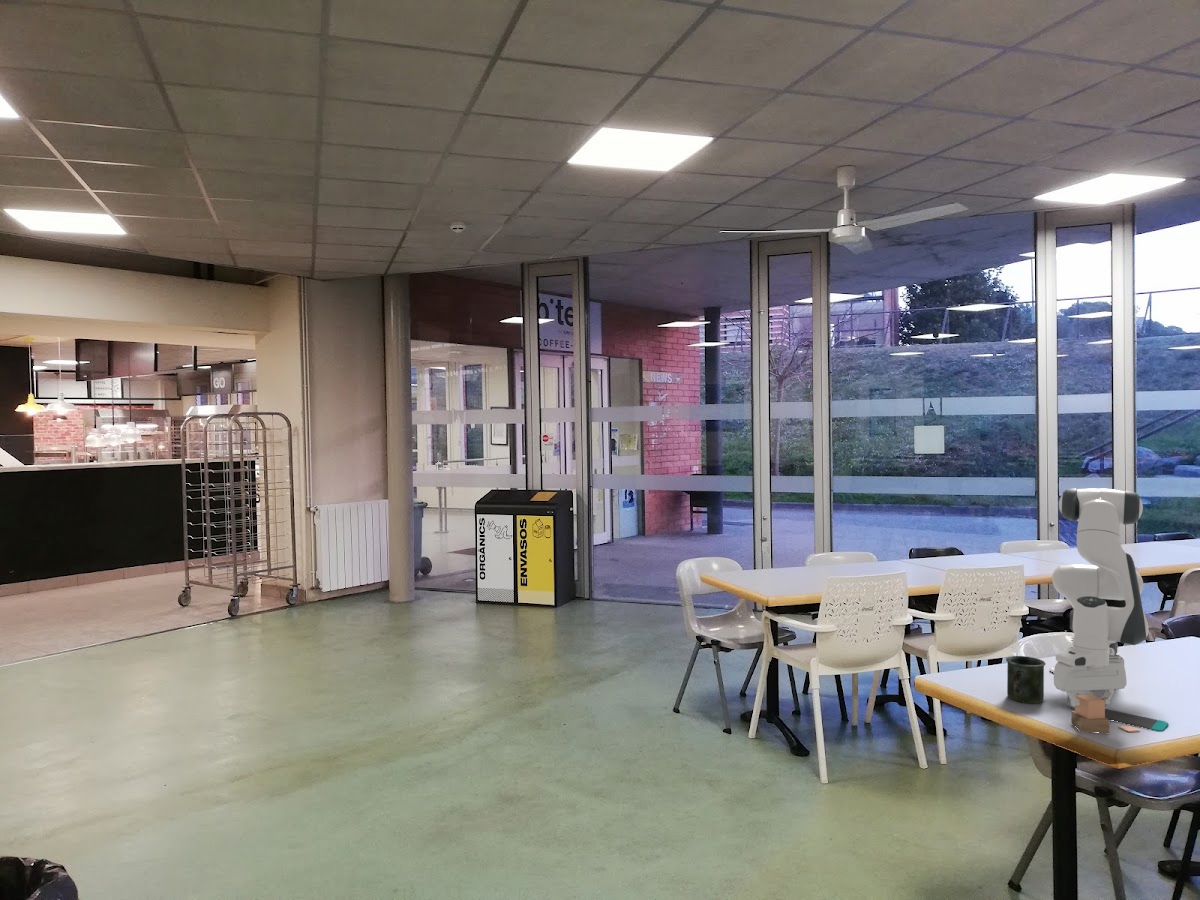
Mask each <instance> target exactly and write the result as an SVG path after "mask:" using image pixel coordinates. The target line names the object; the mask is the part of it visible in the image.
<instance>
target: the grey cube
mask: <svg viewBox="0 0 1200 900" xmlns="http://www.w3.org/2000/svg"><path fill="white" fill-rule="evenodd" d="M1089 694H1092V695H1094V696H1096V693H1095V692H1093V691H1091V690H1088V691H1076V695H1089ZM1070 706H1071V704H1070V698H1069V696H1068V695H1067V707H1070ZM1072 707H1073V708H1072ZM1070 708H1072V709H1074V708H1075V707H1074V706H1071V707H1070Z"/></svg>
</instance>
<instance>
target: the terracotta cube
mask: <svg viewBox="0 0 1200 900" xmlns="http://www.w3.org/2000/svg"><path fill="white" fill-rule="evenodd" d="M1075 697H1076V699H1077V700H1080V703H1079V704H1080V706H1076V707H1075V709H1074V711H1075V713H1077V714H1079V715H1081V716H1083V717H1085V718H1088V719H1095V718H1105V709H1106V705H1105V700H1103V699H1101V697H1098V696H1097V695H1095V696H1094V695H1092V694H1089V695H1075Z"/></svg>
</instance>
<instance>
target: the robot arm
mask: <svg viewBox="0 0 1200 900" xmlns="http://www.w3.org/2000/svg"><path fill="white" fill-rule="evenodd" d="M1143 506H1144V505H1143V502H1142V500H1141V498H1140V495H1139V494H1138V493H1137V492H1135V491H1131V490H1127V489H1126V490H1119V489H1114V488H1103V487H1102V488H1076V487H1074V488H1067V489H1065V490H1064V491H1063V492H1062V494H1061V495H1060V497H1059V500H1058V508H1059V511H1060V514H1061V516H1062V517H1063V518H1064V520H1068V521H1071V522H1074V523H1075V522H1077V529H1076V550H1077V552H1078V554H1079V555H1080V557H1081V558H1082V559H1083V560H1084V561H1086V562H1088V563H1089V564H1082V563H1081V564H1079V563H1073V564H1072V563H1070V564H1061V565H1058V566H1057V567H1056V568H1055V569H1054V570H1053V573H1052V576H1051V581H1052V582H1051V583H1052V586H1053V588H1054V589H1055V591H1056V592H1057V593H1059V594H1060V595H1061V596H1062V597H1064V598H1065V599H1066V600H1067V601H1068V602H1069V603H1070V605H1071V607H1072V609H1071V610H1070V612H1069V630H1071V631H1072V632H1073V637H1070V639H1071V640H1070V642H1072V645H1071V646H1070V647H1068V648H1066V649H1063V650H1061V651H1059V652H1057V653H1056V654H1055V660H1056V661H1057V662H1056V663H1055V665H1054V666H1053V667H1050V668H1049V669H1048V671H1049V670H1050V671H1051V672H1050V671H1049V672H1050V673H1052V672H1053V673H1052V674H1053V685H1054V687H1055V688H1056V690H1059V691H1062V692H1065V693H1066V694H1067V697H1068V696H1069V698H1070V704H1071V706H1074V707H1076V706H1080V704H1079V703H1080V700H1077V699H1076V697H1075V695H1076V691H1101V690H1102V691H1104V694H1103V696H1100V698H1101V699H1103V700H1105V706H1110V705H1111V699H1112V697H1113V696H1114V694H1115V690H1119V689H1120V690H1123V689H1125V687H1127V674H1126V668H1125V659H1124V658H1123V657H1122V656H1120V655H1119V654H1118V648H1119V646H1118V642H1119V643H1121V644H1125V645H1131V646H1136V645H1139V644H1141V643H1143V642H1144V641H1145V640H1147V638H1148V635H1149V623H1148V619H1147V617H1146V615H1145V612H1144V608H1143V602H1142V595H1141V594H1142V593H1143V590H1144V580H1143V578H1142V576H1141V574H1140V573H1139V572H1138V571H1137V570H1136V567H1135V562H1134V559H1133V558H1132V555H1131V554H1129V553H1127V552H1126V551H1125V550H1124V548H1123V546H1122V544H1121V524H1123V525H1127V526H1128V525H1133V524H1134V525H1135V524H1136V523H1137V522H1138V521H1139V520H1140V518H1141V516H1142V514H1143V511H1144V508H1143ZM1106 600H1114V601H1125V606H1124V607H1123V606H1122V607H1117V606H1108V603H1107V602H1106Z"/></svg>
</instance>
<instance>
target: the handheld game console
mask: <svg viewBox="0 0 1200 900" xmlns="http://www.w3.org/2000/svg"><path fill="white" fill-rule="evenodd" d="M1105 718H1107V719H1108V720H1114V721H1118V722H1122V723H1121V724H1123V723H1125V724H1124V725H1127V724H1130V725H1129V726H1132V725H1134V726H1133V727H1136V726H1139V727H1138V728H1141V727H1143V728H1142V729H1145V728H1146V730H1149V729H1151V730H1150V731H1154V730H1155V732H1164V731H1165V730H1166V729H1167V728H1168V727H1169V723H1168V722H1167V721H1164V720H1162V719H1161V720H1160V719H1158V720H1157V719H1154V718H1151V717H1146V716H1140V715H1138V714H1137V715H1136V714H1132V713H1127V712H1123V711H1118V710H1115V709H1114V710H1113V709H1109V708H1105ZM1114 721H1113V722H1114ZM1118 722H1117V723H1118Z"/></svg>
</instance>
